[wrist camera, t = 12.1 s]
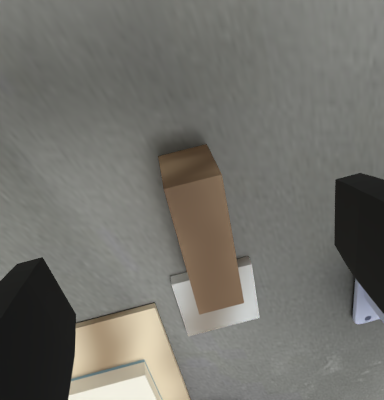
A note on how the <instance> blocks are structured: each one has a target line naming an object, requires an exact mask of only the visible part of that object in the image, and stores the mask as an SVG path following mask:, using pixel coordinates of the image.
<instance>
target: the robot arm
mask: <svg viewBox="0 0 384 400" xmlns="http://www.w3.org/2000/svg"><path fill="white" fill-rule="evenodd" d="M335 246H336V248H337V249H338V251H339V253H340V255H341V256H342V258H343V260H344V261H345V263H346V265H347V266H348V268H349V269H350V271H351V272H352V274H353V276H354V277H355V290H354V304H353V320H354V322H355V323H356V324H363V323H367V322H370V321H374V320H378V319H381V321H382V322H383V323H384V180H383V179H379V178H376V177H373V176H369V175H365V174H362V173H358V174H355V175H351V176H347V177H343V178H340V179H336V185H335ZM75 338H76V314H75V312H74V310H73V309H72V307H71V305H70V304H69V302H68V300H67V298H66V297H65V295H64V293H63V292H62V290H61V288H60V286H59V285H58V283H57V281H56V279H55V278H54V276H53V274H52V273H51V271H50V269H49V267H48V266H47V264H46V262H45V261H44V259H43V257H42V258H38V259H34V260H31V261H27V262H23V263H19V264H17V265H16V266H15V267H14V268H13V269H12V270H11V271H10V272H9V273H8V274H7V275H6V276H5V277H4V278H3V279H2V280H1V281H0V400H68V397H69V391H70V384H71V378H72V371H73V364H74V357H75Z"/></svg>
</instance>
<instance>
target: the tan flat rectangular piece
mask: <svg viewBox="0 0 384 400" xmlns="http://www.w3.org/2000/svg"><path fill="white" fill-rule="evenodd" d="M140 360H145V362H146V364H147V366H148V369H149V371H150V373H151V375H152V377H153V380H154V382H155V384H156V386H157V388H158V391H159V393H160V395H161V397H162V399H163V400H191V398H190V396H189V393H188V390H187V388H186V385H185V382H184V380H183V377H182V374H181V372H180V369H179V366H178V364H177V361H176V358H175V356H174V353H173V350H172V348H171V345H170V342H169V340H168V337H167V334H166V332H165V329H164V326H163V324H162V321H161V318H160V316H159V313H158V310H157V308H156V305H155V303H153V304H149V305H145V306H141V307H137V308H134V309H130V310H126V311H122V312H118V313H114V314H111V315H107V316H103V317H99V318H95V319H92V320H88V321H84V322H80V323H76V338H75V357H74V364H73V371H72V378H76V377H80V376H84V375H87V374H91V373H95V372H99V371H102V370H106V369H110V368H114V367H117V366H121V365H125V364H129V363H132V362H136V361H140ZM72 378H71V379H72Z"/></svg>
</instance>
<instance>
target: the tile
mask: <svg viewBox="0 0 384 400" xmlns="http://www.w3.org/2000/svg"><path fill="white" fill-rule="evenodd" d="M68 400H163V399H162V397H161V395H160V393H159V391H158V388H157V386H156V384H155V382H154V380H153V377H152V375H151V373H150V371H149V369H148V366H147V364H146V362H145V360H140V361H136V362H132V363H129V364H125V365H121V366H117V367H114V368H110V369H106V370H102V371H99V372H95V373H91V374H87V375H84V376H80V377H76V378H72V379H71V384H70V391H69V397H68Z"/></svg>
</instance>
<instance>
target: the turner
mask: <svg viewBox="0 0 384 400" xmlns="http://www.w3.org/2000/svg"><path fill="white" fill-rule="evenodd" d="M158 158H159V164H160V170H161V176H162V182H163V188H164V192H165V195H166V199H167V202H168V206H169V209H170V213H171V216H172V220H173V224H174V227H175V231H176V234H177V238H178V241H179V245H180V248H181V252H182V255H183V259H184V262H185V266H186V270H187V272H186V273H182V274H178V275H174V276H170V277H171V284H172V288H173V291H174V294H175V297H176V300H177V303H178V306H179V309H180V312H181V315H182V318H183V321H184V325H185V328H186V331H187V334H188V337H189V336H192V335H196V334H200V333H204V332H208V331H211V330H215V329H219V328H223V327H227V326H230V325H234V324H238V323H242V322H246V321H249V320H253V319H257V318H260V317H259V310H258V303H257V296H256V289H255V282H254V276H253V269H252V263H251V261H250V259H249V257H248V256H247V257H243V258H239V259H236V253H235V247H234V242H233V236H232V230H231V224H230V219H229V213H228V207H227V202H226V196H225V190H224V184H223V179H222V174H221V172H220V170H219V168H218V166H217V164H216V162H215V160H214V158H213V156H212V154H211V152H210V150H209V148H208V146H207V144H205V145H201V146H197V147H193V148H189V149H185V150H181V151H177V152H173V153H169V154H165V155H161V156H158Z"/></svg>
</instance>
